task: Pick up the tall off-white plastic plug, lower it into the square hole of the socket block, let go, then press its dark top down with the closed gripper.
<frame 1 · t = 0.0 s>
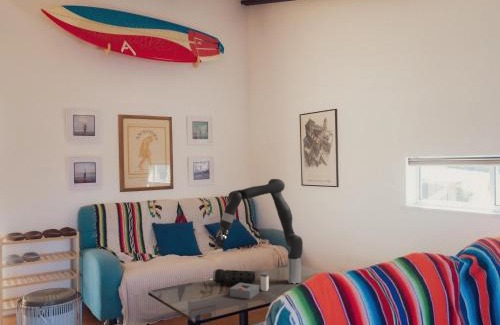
hand: (218, 244, 281), 31 cm above the table, tool tilted 20°, fingers open, 8 cm apart
plug: (264, 290, 288), on the table
socket: (244, 294, 278), on the table
muzzle brake: (233, 285, 300), on the table
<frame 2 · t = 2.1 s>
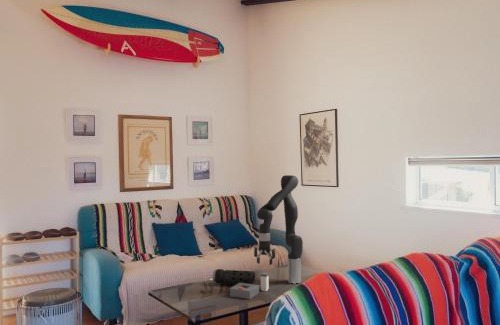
hand: (264, 264, 287), 17 cm above the table, tool pointing down, fingers open, 8 cm apart
nothing on the table moved.
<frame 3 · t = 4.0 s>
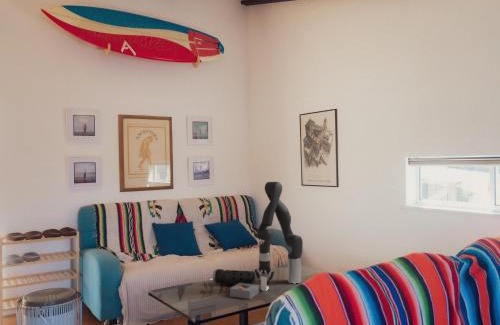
hand: (264, 285, 288), 3 cm above the table, tool pointing down, fingers closed on plug, 4 cm apart
plug: (264, 290, 288), on the table, touching gripper
everything else where it was.
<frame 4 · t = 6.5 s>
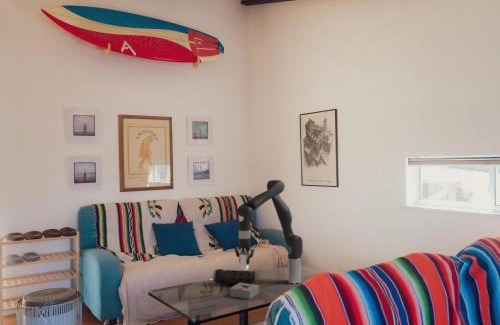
hand: (244, 263, 278), 20 cm above the table, tool pointing down, fingers closed on plug, 4 cm apart
plug: (244, 268, 278), point 16 cm above the table, touching gripper
everything else where it was.
when the fingers open (6 cm above the table, at t = 9.3 s): plug drops 2 cm, resting on socket.
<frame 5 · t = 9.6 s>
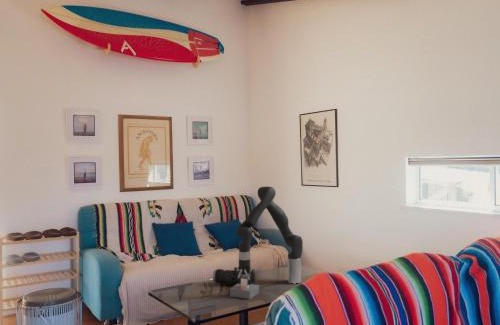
hand: (244, 284, 278), 7 cm above the table, tool pointing down, fingers open, 6 cm apart
plug: (244, 292, 278), point 1 cm above the table, touching socket
everything else where it was.
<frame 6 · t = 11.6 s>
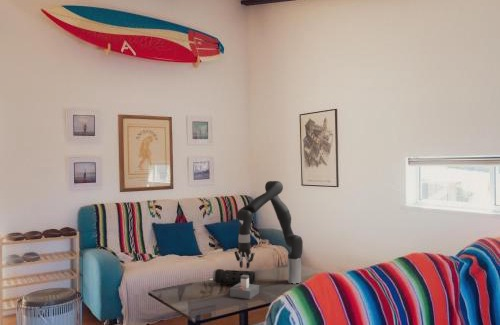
hand: (244, 267, 278), 17 cm above the table, tool pointing down, fingers open, 3 cm apart
nothing on the table moved.
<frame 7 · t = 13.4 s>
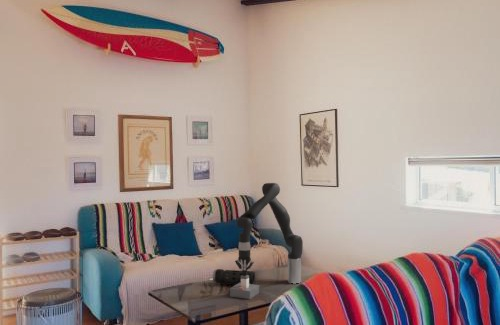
hand: (244, 275, 278), 12 cm above the table, tool pointing down, fingers closed
plug: (244, 292, 278), point 1 cm above the table, touching gripper, socket
everything else where it was.
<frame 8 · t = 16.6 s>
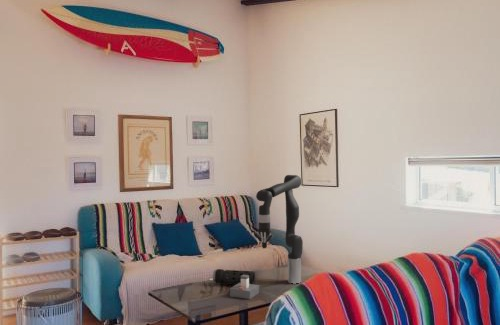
hand: (264, 248, 282), 29 cm above the table, tool pointing down, fingers closed
plug: (244, 292, 278), point 1 cm above the table, touching socket
everything else where it was.
at the end: plug 0.2 cm off-centre on the socket, point 1.1 cm above the socket's base; plug tilted 0°; the gripper is holding nothing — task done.
